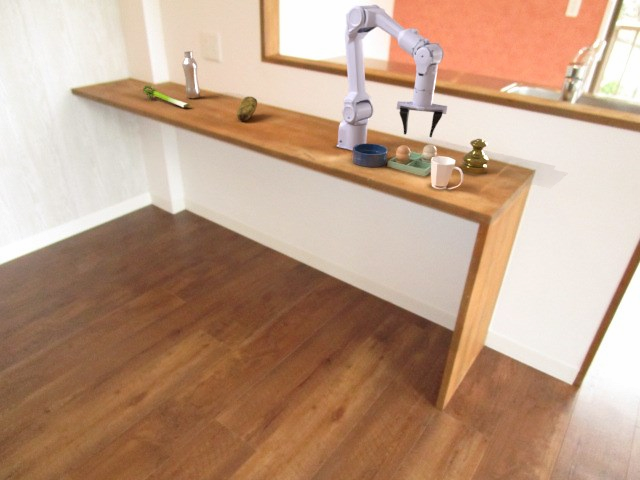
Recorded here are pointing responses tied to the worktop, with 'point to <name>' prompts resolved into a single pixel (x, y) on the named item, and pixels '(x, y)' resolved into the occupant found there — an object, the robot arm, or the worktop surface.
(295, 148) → the worktop surface
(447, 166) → the cup
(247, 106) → the potato
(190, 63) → the plastic bottle
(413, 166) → the tray
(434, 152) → the cream egg
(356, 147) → the bowl
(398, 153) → the brown egg
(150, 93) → the leek
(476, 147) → the gold decorative ornament
